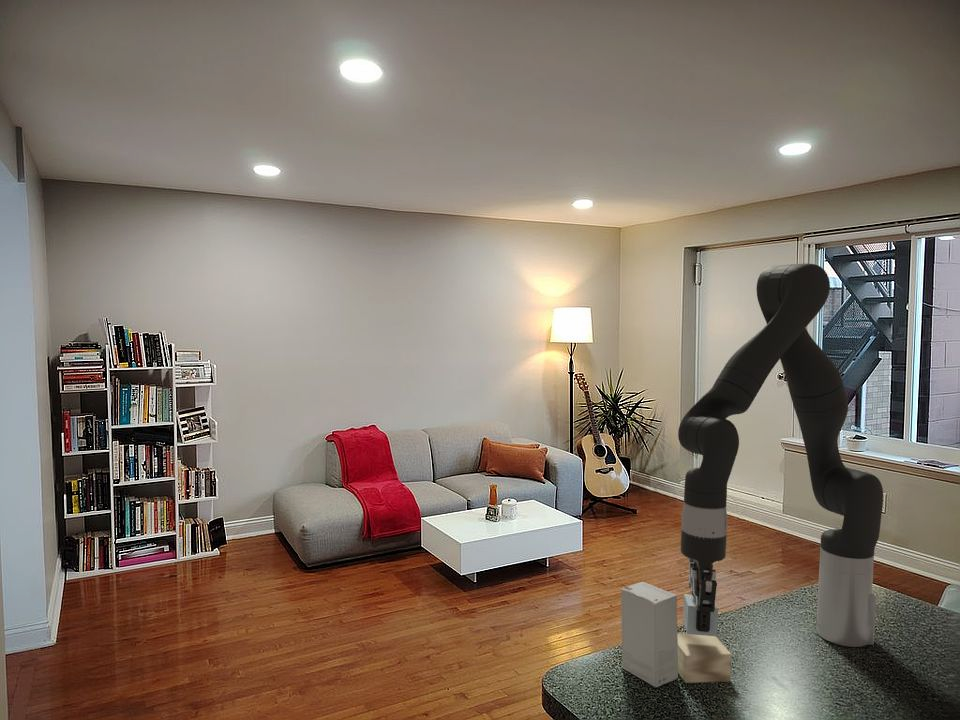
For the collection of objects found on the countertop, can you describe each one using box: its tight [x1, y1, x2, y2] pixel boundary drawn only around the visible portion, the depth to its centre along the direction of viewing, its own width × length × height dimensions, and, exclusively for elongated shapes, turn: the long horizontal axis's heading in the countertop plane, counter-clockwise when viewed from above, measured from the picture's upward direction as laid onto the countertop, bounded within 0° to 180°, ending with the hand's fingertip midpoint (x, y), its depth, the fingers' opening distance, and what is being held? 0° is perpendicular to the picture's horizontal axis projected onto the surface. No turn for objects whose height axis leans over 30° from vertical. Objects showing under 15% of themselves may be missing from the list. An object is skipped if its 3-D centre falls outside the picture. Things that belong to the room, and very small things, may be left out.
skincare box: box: [620, 581, 679, 688], centre depth 117 cm, size 8×6×15 cm
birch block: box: [677, 632, 732, 684], centre depth 119 cm, size 8×8×5 cm
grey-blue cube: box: [682, 593, 719, 638], centre depth 119 cm, size 5×5×5 cm
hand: (700, 623), depth 119 cm, fingers closed on grey-blue cube, 5 cm apart
